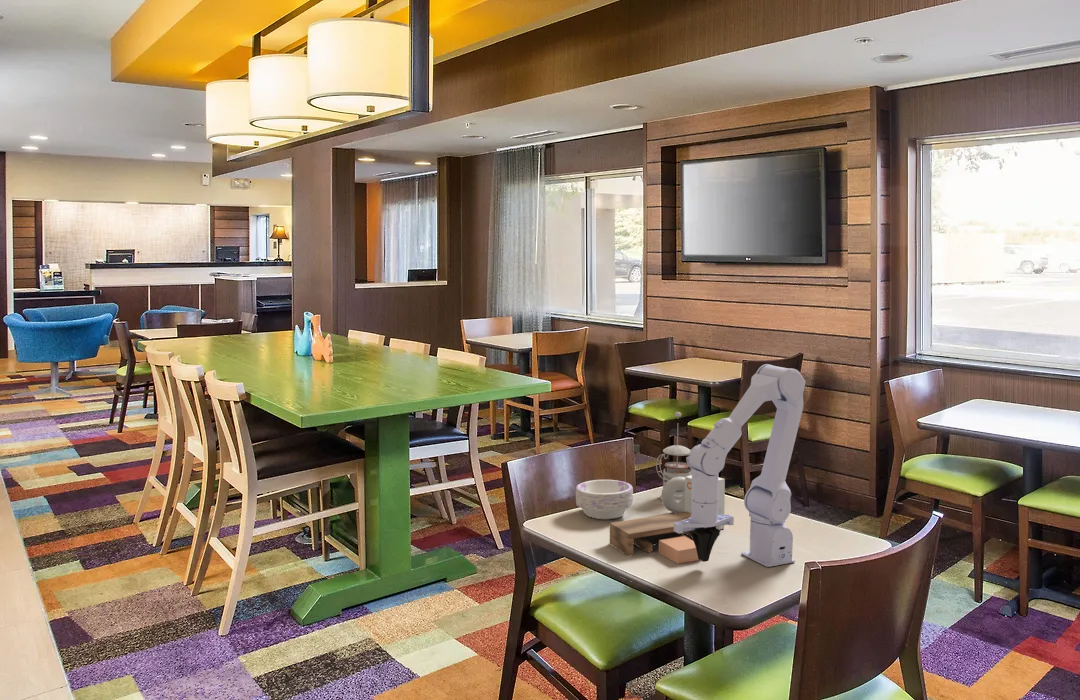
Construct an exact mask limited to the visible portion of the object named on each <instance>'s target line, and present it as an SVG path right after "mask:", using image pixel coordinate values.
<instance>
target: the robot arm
mask: <svg viewBox="0 0 1080 700" xmlns="http://www.w3.org/2000/svg"><path fill="white" fill-rule="evenodd" d="M806 383H807V382H806V380H805V378H804V377H803V375H802V374H801V372H800V371H799V370H798V369H796V368H792V367H791V368H788V367H787V368H786V367H781V366H776V365H773V364H768V363H765V364H762V365H761V366H760V367H758V369H757V370H756V372H755V373H754V374H753V375H752V376H751V380H750V385H749V387H748V388H747V390H746V391H745V393H744V394H743V395H742V397H741V399H740V400H739V401H738V403H737V405H736V406H735V407H734V408H733V410H732V412H731V413H730V415H729V416H728V417H725V418H724V417H723V418H720V419H719V420H716V422H715V423H714V424H713V428H712V429H711V430H710V431H709V433H708V434H707V435H706V436H705V438H703V439H702V441H701V443H700V444H697V445H695V446H693V447H692V448H691V449H690V450H691V451H690V453H689V455H687V457H686V463H687V464H688V465H689V468H690V470H691V475H692V494H691V517H690V518H688V519H685V520H682V521H679V522H675V523H674V531H675V532H677V533H679V534H680V533H682V534H684V533H683V532H685V531H689V533H690V535H691V536H690V537H691V540H693V541H694V544H695V547H696V550H697V555H698V559H699V560H698V561H701V562H703V563H704V562H709V560H710V556H711V553H712V550H713V548H714V547H713V546H714V545H715V543H716V542H717V539H718V538H719V536H720V534H721V533H720V531H721V530H719V529H716V526H722V525H724V526H727V525H728V526H734V521H735V520H734V519H735V517H734V516H733V515H731V514H724V515H718V477H719V473H720V472H721V471H723V469H724V468H725V464H726V458H727V455H728V453H730V451H731V449H732V448H733V447H734V446H735V444H736V443H737V442H738V440H740V438H741V436H742V434H743V433H742V427H743V426H744V425H745V423H746V422H747V421H748V420H749V419H750V418H751V417H752V416H753V415H754V414H755V412H756V411H757V410H759V408H760V407H761V406H762V405H763V404H764V403H765V402H769V401H772V403H773V404H774V406H775V408H776V412H775V416H774V419H773V424H772V427H771V431H770V436H769V440H768V443H767V448H766V453H765V457H764V461H763V464H762V469H761V471H760V472H761V473H760V475H759V476H757V477H755V478H754V479H753V480H752V481H751V483H750V484H751V485H750V486H749V488H748V490H747V491H746V493H745V495H744V499H743V504H744V507H745V509H746V510H747V511H748V516H749V518H750V522H749V523H750V526H749V528H750V529H749V550H745V551H742V552H741V555H742V556H744V557H746V558H749V560H752V561H754V562H756V563H758V564H759V565H763V566H765V567H767V568H769V567H775V566H781V565H786V564H791V563H795V562H796V560H795V559H794V558H793V546H794V545H793V542H794V541H793V540H794V536H793V533H792V531H791V529H790V528H788V527H787V526H786V525H785V523H786V520H787V519H788V517H789V516H790V513H791V509H792V506H791V497H792V492H791V489H790V487H789V485H788V484H787V482H786V479H787V475H788V471H789V466H790V462H791V458H792V455H793V451H794V446H795V442H796V439H797V434H798V430H799V426H800V422H801V418H802V415H803V410H804V391H805V387H806Z"/></svg>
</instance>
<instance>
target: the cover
mask: <svg viewBox="0 0 1080 700" xmlns="http://www.w3.org/2000/svg"><path fill="white" fill-rule="evenodd" d="M689 538H690V537H689ZM689 538H687V537H685V536H681V537H675V538H669V539H662V540H659V544H658V553H659V554H660V553H661V555H662V556H664V557H666V558H667V557H668V558H667V559H669V560H671V561H672V560H673V562H674V563H676V564H678V565H679V564H685V563H689V562H690V563H691V562H696V561H700V560H699V559H698V555H697V550H696V547H695V544H694V541H693V539H692V538H690V539H689Z"/></svg>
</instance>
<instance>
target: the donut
mask: <svg viewBox="0 0 1080 700" xmlns="http://www.w3.org/2000/svg"><path fill="white" fill-rule="evenodd" d="M666 482H667V481H666ZM679 489H682V490H683V491H684V497H683V498H682V499H681V500H679V501H677V500H675V499H674V493H675V492H676V491H677V490H679ZM660 496H661V497H662V500H661V502H662V504H663V506H664V507H665V509H667V511H670V512H671V513H672V514H673V513H680V512H685V477H675V478H672V479H671V480H669V481H668V482H667V483H666V484H665V485H664V488H663V487H662V490H661V495H660Z"/></svg>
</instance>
